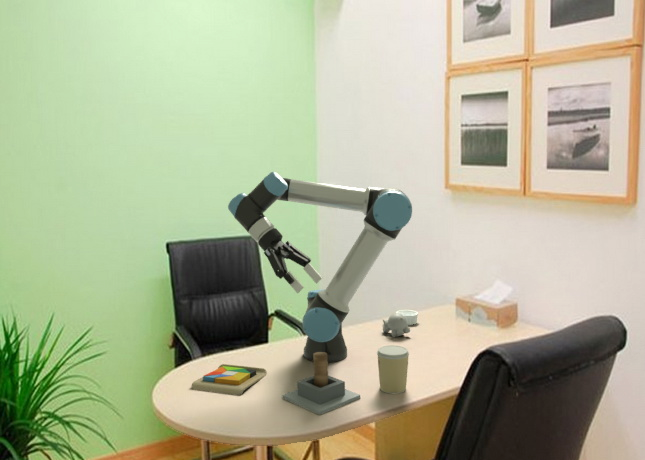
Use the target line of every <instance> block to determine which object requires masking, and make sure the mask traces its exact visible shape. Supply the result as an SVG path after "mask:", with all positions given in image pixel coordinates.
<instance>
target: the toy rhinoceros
mask: <svg viewBox="0 0 645 460" xmlns="http://www.w3.org/2000/svg"><path fill="white" fill-rule="evenodd" d="M390 331H391V337H393V338H396V337H401V336H403V335H405V334H409V333H410V332H411V329H410V327H409V325H407V320H406V318H405V317H404V316H403V315H402V314H399V313H396V312H395V313H393V314H391V315H390V316H389V317H388V319H386V320H385V319H382V332H383V333H385V334H389V332H390Z"/></svg>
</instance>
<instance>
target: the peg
mask: <svg viewBox="0 0 645 460" xmlns="http://www.w3.org/2000/svg"><path fill="white" fill-rule="evenodd" d="M313 356H314V361H313V376H314V386H317V387H319V388H321V387H324V386H327V385H328V376H329V371H328V366H329V365H328V363H329V362H328V361H327V353H326V352H316V353H314V354H313Z"/></svg>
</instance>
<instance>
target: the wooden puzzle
mask: <svg viewBox="0 0 645 460" xmlns="http://www.w3.org/2000/svg"><path fill="white" fill-rule="evenodd" d="M267 374H268V372H267V369H266V368H263V367H256V366H245V365H237V364H227V363H222V364H220V365H219V366H218V367H217V368H216V369H215V370H213V371H210V372H209V373H206V374H204V375H203V376H202V377H200V378H197V379H196V380H193V382H192V383H191V389H192V388H193V389H192V390H194V389H197V390H196V391H201V390H203V392H209V391H212V392H211V393H217V392H218V393H217V394H225V395H226V394H227V395H233V396H241V395H242V394H243V393H244V391H245V390H246V389H249V387H251V386H253V385H254V384H256V383H258V382H259V381H260V380H262V379H263V378H264V377H266V375H267Z"/></svg>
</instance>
